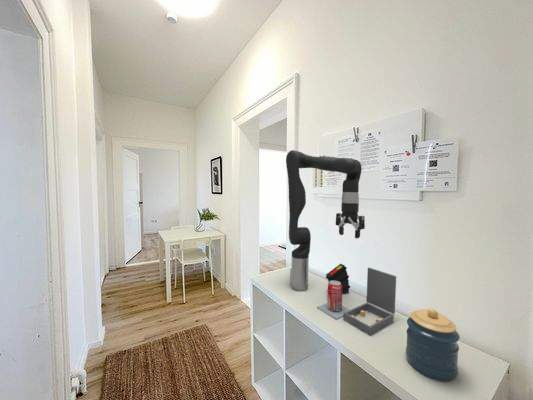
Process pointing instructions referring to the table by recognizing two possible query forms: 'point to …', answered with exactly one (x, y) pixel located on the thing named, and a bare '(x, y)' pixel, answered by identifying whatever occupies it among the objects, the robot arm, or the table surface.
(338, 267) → the magazine
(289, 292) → the table surface
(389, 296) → the case
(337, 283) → the beverage can
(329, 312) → the rubber mat
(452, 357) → the canister
